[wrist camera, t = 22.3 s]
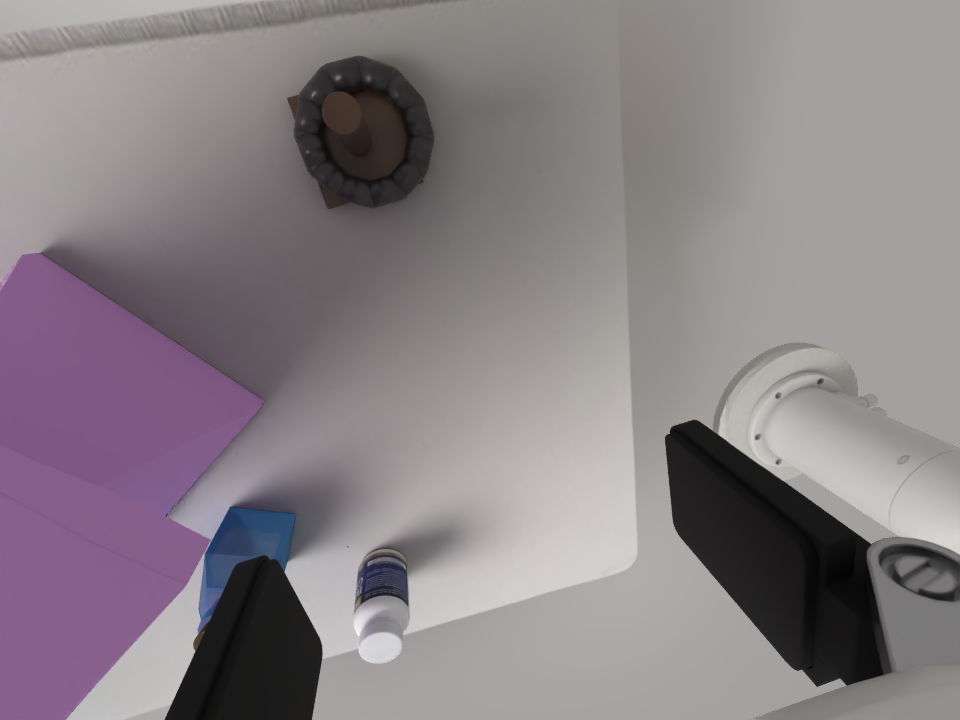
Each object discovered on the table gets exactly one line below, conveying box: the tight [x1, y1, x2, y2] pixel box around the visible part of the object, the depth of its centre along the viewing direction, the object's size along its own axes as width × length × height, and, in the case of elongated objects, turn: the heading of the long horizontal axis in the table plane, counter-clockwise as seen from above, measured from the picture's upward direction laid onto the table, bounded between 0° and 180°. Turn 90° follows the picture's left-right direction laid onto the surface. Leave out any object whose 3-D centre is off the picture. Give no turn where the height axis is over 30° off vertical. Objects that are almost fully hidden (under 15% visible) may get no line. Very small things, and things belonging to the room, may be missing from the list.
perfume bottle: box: [193, 507, 296, 651], centre depth 40 cm, size 6×6×12 cm
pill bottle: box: [353, 549, 410, 663], centre depth 45 cm, size 5×5×10 cm
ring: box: [294, 56, 434, 208], centre depth 33 cm, size 10×10×2 cm
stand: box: [287, 89, 423, 209], centre depth 29 cm, size 8×8×13 cm
